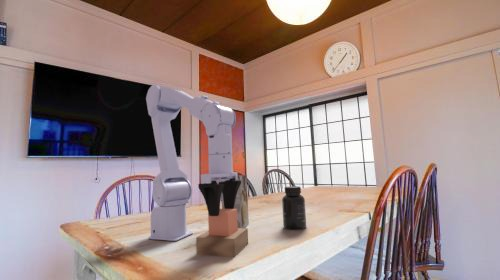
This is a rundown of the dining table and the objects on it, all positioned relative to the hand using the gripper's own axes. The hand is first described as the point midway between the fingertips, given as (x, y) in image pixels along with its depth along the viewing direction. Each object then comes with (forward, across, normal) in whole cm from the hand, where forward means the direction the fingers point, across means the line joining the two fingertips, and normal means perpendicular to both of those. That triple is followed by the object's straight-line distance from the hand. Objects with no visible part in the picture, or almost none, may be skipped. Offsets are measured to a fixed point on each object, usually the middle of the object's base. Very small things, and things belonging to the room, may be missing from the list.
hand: (222, 212), depth 58 cm
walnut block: (+8, 0, 0) cm, 9 cm away
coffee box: (+8, +20, +6) cm, 22 cm away
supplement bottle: (+8, +23, -12) cm, 27 cm away
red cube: (+4, 0, 0) cm, 5 cm away
